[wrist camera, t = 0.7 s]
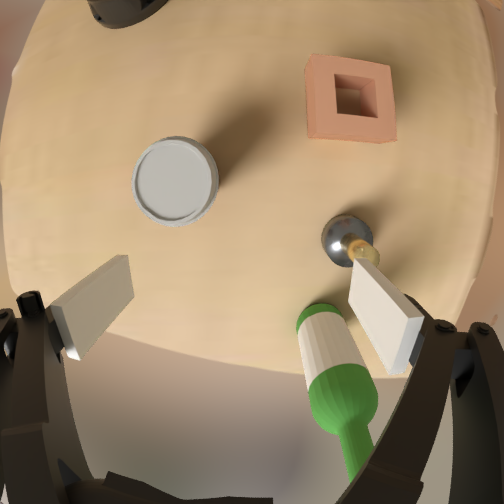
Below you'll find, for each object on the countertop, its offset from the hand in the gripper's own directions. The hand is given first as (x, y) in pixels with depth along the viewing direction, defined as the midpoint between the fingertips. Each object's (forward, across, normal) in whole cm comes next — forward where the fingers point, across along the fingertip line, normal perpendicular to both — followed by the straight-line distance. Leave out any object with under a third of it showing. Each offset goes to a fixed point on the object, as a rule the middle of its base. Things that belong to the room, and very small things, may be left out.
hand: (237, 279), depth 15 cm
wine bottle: (+24, +11, -18) cm, 32 cm away
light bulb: (+24, +14, -4) cm, 28 cm away
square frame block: (+18, +11, +14) cm, 26 cm away
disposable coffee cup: (+24, -8, +5) cm, 26 cm away
